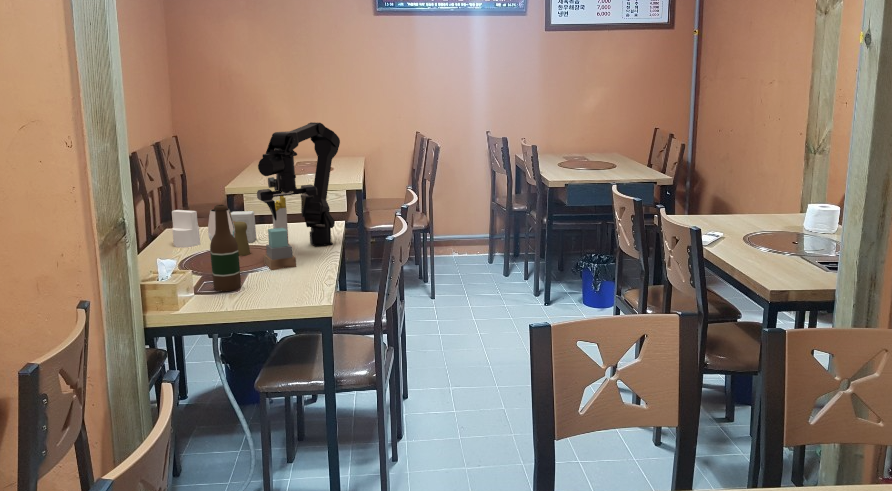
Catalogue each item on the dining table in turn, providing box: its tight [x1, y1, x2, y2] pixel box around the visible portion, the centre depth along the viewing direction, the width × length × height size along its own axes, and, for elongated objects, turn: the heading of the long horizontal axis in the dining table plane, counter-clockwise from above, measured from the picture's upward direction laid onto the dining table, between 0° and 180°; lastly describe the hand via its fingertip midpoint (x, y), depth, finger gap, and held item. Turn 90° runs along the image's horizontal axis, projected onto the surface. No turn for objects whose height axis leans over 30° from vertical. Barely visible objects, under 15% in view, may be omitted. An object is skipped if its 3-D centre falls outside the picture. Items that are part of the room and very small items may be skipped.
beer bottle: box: [209, 204, 242, 292], centre depth 216 cm, size 8×8×24 cm
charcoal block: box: [265, 244, 294, 260], centre depth 241 cm, size 6×6×4 cm
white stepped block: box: [171, 209, 201, 248], centre depth 272 cm, size 9×9×12 cm
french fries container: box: [272, 196, 290, 245], centre depth 264 cm, size 5×11×18 cm, turn 16°
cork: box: [234, 221, 251, 257], centre depth 257 cm, size 6×6×11 cm
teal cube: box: [267, 228, 289, 248], centre depth 241 cm, size 5×5×5 cm
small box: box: [230, 210, 257, 243], centre depth 276 cm, size 8×6×10 cm
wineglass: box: [207, 208, 235, 242], centre depth 231 cm, size 8×8×20 cm
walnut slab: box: [263, 254, 297, 271], centre depth 243 cm, size 8×8×4 cm
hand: (289, 218), depth 252 cm, fingers open, 9 cm apart
